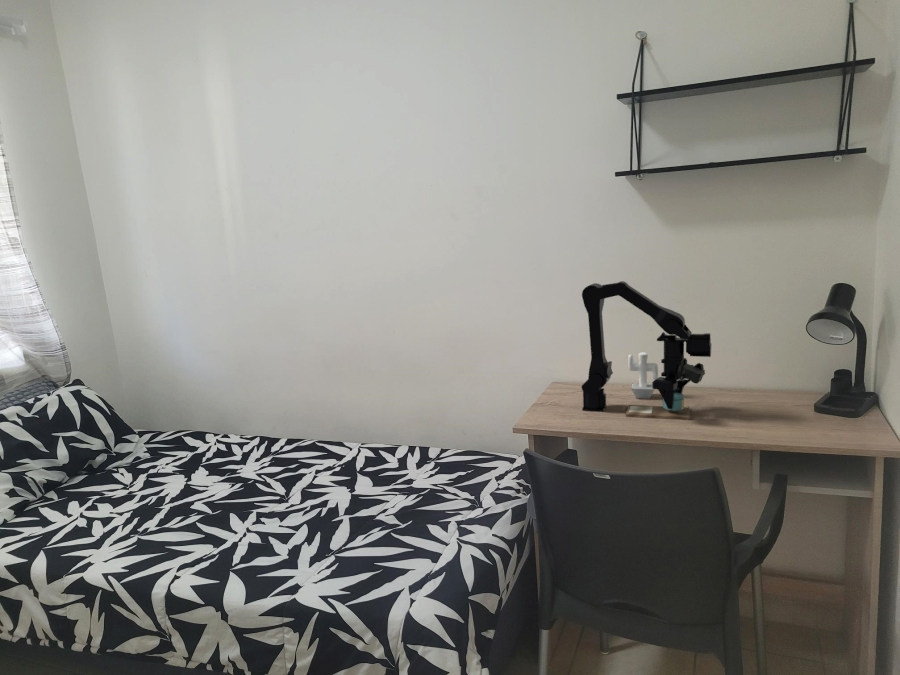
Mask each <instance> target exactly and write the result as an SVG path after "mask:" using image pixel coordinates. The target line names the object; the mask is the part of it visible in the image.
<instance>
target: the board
mask: <svg viewBox="0 0 900 675" xmlns="http://www.w3.org/2000/svg"><path fill="white" fill-rule="evenodd" d="M690 416H691V415H690V407H685V406H684V409H682V410H676V411H673V410H666V409H665V408H663V405H642V404H641V405H639V404H638V405H637V404H628V407H627V410H626V413H625V417H626V418H629V417H630V418H643V419H644V418H645V419H662V420H663V419H665V420H682V421H685V420H686V421H690V418H691V417H690Z"/></svg>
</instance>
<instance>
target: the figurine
mask: <svg viewBox="0 0 900 675" xmlns="http://www.w3.org/2000/svg"><path fill="white" fill-rule="evenodd" d="M627 356H628V357H627V358H628V360H627V362H628V363H627V364H628V370H629V371H631V372H638V373H639V374H638V376H639V377H638V378H639V381H638V383H637V382H633V383H632V384H631V391H632V392H633V395H634V396H635V399H643V400H644V399H645V400H647V399H648V400H650V399H651V398H652V395H653V393H654V391H655V389H653V388H652V383H648V372H652V378H653V380H655V379H657V378H659V367H658V366H659V365H658V364H657V363H656V362H648V352H645V351H643V352H642V351H641V352H639V353H638V362H634V355H633V354H628V355H627Z"/></svg>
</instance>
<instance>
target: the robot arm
mask: <svg viewBox="0 0 900 675" xmlns="http://www.w3.org/2000/svg"><path fill="white" fill-rule="evenodd" d="M581 296H582V301H583V305H584V308H585V311H586V313H587V315H588V316H587V317H588V329H589V330H588V331H589V344H590V355H591V357H590V359H591V360H590V363H589V369H588V376H587V377H588V379H587V380H586V381H584V383H583V384H582V385H581V390H582V397H583V399H582V400H583V401H582V402H583V403H582V405H583V407H581V408H582V411H592V412H603V411H604V410H605V408H606V407H607V393H606V392H605V388H603V387H605V386H606V384H607V383H608V382H609V381H610V379H611V376H612V375H613V374H614V372H613V370H612V363H613V362H612V360H610V361H608V359H607V357H606V350H605V337H604V322H603V308H604V305H605V299H608V298H612V297H617V296H619V297H620V298H622V299H623V300H625V301H626V302H628V303H630V304H631V305H633V306H634V307H636V308H637V309H638V310H640V311H642V312H643V313H644V314H646V315H647V316H649V317H650V318H651V319H653V321H654V322H655V323H656V324H657V325H658V327H660V329H662V330H663V331H662V332H661V334H660V335H659V336H658V337H657V338H656V341H657V342H663V358H662V359H661V360H660V361H661V364H663V371H662V372H661V373H660V374H661V375H660V376H658V378H657V379H653V381H652V383H651V384H652V388H653V389H654V390H658V392H659V394H660V395H661V398H662V400H663V399H664V401H665V403H666V405H667V407H668V409H672V406H673V400H674V394H675V393H681V394H683V391H684V388H685V386H687V385H688V384H689V383H690V382H691V383H694V384H699V383H700V382H702V380H703V378H704V376H705V375H706V370H705V369H704V368H705V367H704V364H702V363H700V362H698V363H695V365H694V364H689V363H688V359H687V357H685V353H687V354H688V355H689V356H690V357H699V358H701V357H703V358H704V357H705V358H711V357H712V343H711V342H712V341H711V340H712V339H711V333H707V332H706V333H692V331H691V330H690V329H689V327H688V326H687V324H686V321H685V320H686V319H685V318H684V317H685V316H684V315H682V314H681V313H679V312H677V311H675V310H672V309H669V308H667V307H664V306H662V305H659V304H657V302H655V301H653V300H652V299H650V298H648V297H647V296H646V295H644V294H643V293H641V292H640V291H639V290H637V289H635V288H633V287H632V286H631V285H629V284H628V283H627V282H626V281H624V280H623V281H619V282H614V283H608V284H601V283H592V284H589V285H587V286H586V287H584V288H583V289H582V292H581Z"/></svg>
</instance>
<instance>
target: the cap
mask: <svg viewBox="0 0 900 675" xmlns="http://www.w3.org/2000/svg"><path fill="white" fill-rule="evenodd" d="M662 406H663V408H665V409H666V410H673V411H676V410H682V409H684V407H685V396H684V394H683V393H682V394H681V393H675V394H674V400H673V406H672V409H668V407H667V405H666V403H665V401H664V399H663V398H662Z"/></svg>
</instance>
